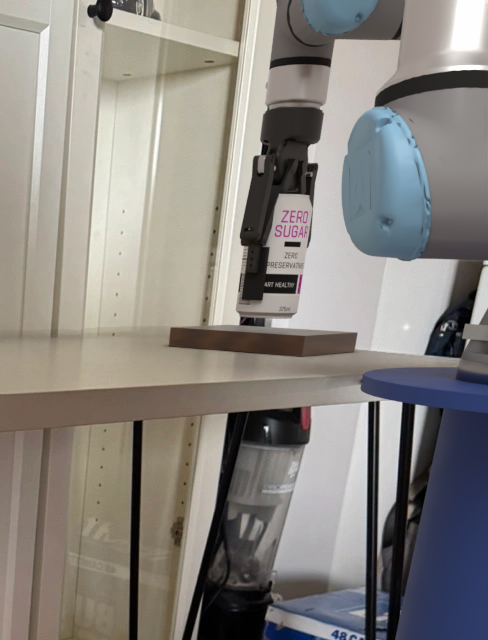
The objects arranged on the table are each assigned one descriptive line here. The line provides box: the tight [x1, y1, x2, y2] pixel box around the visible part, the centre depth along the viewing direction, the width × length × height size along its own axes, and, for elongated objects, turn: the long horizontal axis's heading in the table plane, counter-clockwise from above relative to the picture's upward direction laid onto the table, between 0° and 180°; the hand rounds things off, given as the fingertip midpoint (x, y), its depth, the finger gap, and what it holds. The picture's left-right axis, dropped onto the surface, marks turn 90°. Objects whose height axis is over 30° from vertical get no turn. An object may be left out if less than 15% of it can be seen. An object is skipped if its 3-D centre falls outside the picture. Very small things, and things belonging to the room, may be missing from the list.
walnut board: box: [168, 324, 359, 357], centre depth 143 cm, size 20×16×2 cm
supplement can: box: [235, 194, 314, 320], centre depth 139 cm, size 8×8×15 cm
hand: (267, 299), depth 141 cm, fingers closed on supplement can, 8 cm apart
